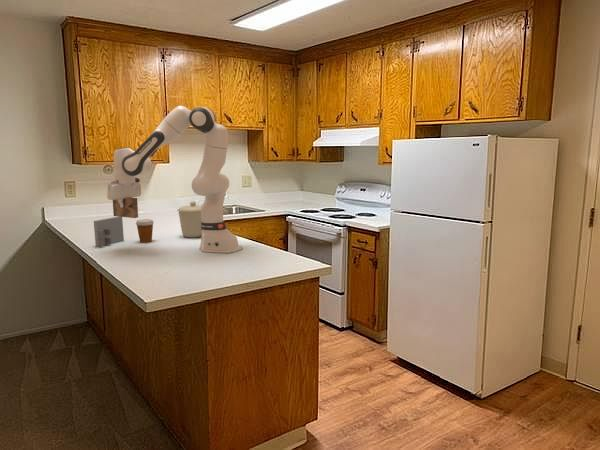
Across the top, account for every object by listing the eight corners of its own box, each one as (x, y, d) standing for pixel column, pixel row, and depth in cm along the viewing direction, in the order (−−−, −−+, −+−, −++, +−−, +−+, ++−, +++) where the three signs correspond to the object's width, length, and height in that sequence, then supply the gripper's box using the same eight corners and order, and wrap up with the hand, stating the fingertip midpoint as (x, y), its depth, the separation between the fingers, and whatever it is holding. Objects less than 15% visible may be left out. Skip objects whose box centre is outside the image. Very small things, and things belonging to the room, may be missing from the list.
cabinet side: (128, 241, 254) (126, 216, 252) (103, 247, 238) (101, 221, 235) (121, 240, 256) (119, 216, 254) (95, 246, 240) (93, 220, 237)
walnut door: (138, 217, 230) (137, 198, 228) (132, 218, 226) (131, 198, 225) (117, 215, 235) (116, 196, 233) (111, 216, 232) (110, 197, 230)
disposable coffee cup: (136, 243, 247) (134, 222, 245) (137, 240, 256) (136, 219, 254) (154, 242, 250) (153, 221, 248) (155, 239, 259) (153, 218, 257)
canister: (202, 239, 257) (200, 203, 253) (173, 238, 261) (171, 202, 257) (214, 234, 274) (213, 199, 271) (186, 233, 278) (185, 199, 274)
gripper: (113, 181, 217) (114, 209, 220) (142, 178, 236) (143, 205, 238) (103, 180, 220) (104, 208, 222) (133, 178, 238) (134, 204, 241)
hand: (125, 206), depth 231 cm, fingers closed on walnut door, 2 cm apart
